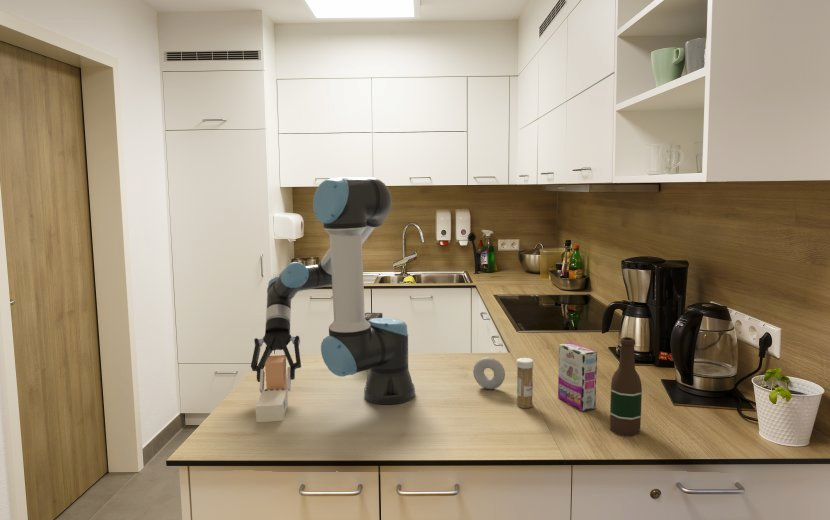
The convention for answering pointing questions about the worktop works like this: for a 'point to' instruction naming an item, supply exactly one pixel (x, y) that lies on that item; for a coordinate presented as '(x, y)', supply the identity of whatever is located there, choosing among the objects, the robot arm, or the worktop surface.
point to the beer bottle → (626, 393)
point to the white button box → (272, 405)
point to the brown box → (276, 372)
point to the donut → (497, 369)
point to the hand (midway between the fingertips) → (275, 390)
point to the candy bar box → (577, 376)
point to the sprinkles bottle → (524, 382)
